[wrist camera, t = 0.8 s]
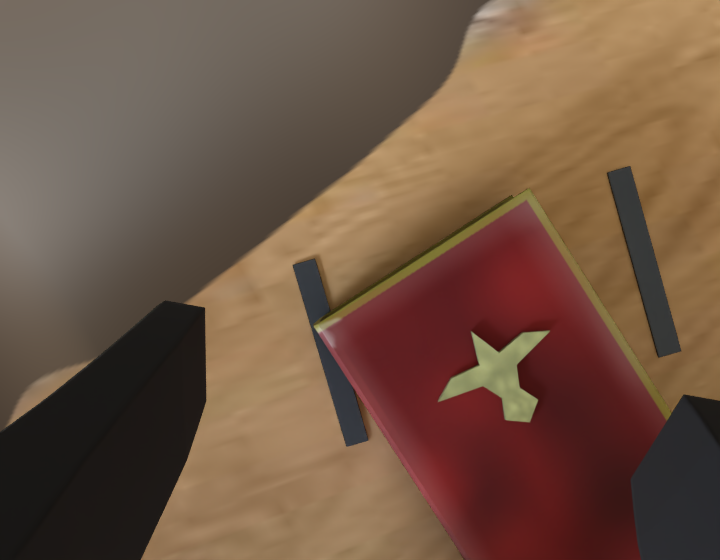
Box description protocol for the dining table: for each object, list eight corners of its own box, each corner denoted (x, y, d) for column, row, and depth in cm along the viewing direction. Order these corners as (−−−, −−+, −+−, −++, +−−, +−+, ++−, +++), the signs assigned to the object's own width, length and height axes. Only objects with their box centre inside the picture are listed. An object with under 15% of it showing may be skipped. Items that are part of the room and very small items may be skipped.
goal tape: (680, 350, 34) (681, 350, 34) (346, 446, 35) (346, 446, 34) (629, 166, 34) (630, 165, 34) (292, 264, 34) (292, 265, 34)
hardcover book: (530, 651, 35) (553, 705, 31) (316, 320, 34) (309, 329, 30) (722, 531, 34) (773, 570, 30) (510, 196, 34) (530, 187, 30)
